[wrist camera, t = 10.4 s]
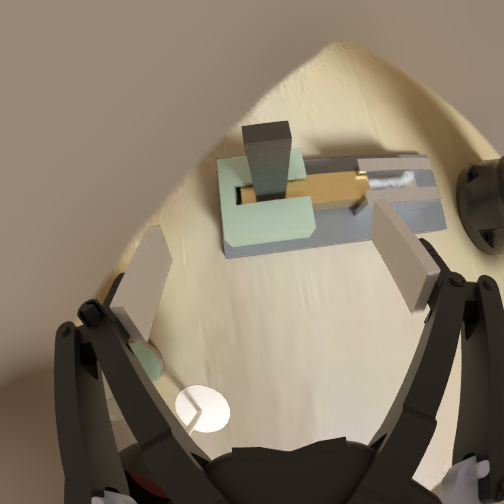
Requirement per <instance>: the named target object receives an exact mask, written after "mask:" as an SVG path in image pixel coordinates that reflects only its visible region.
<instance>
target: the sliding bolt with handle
mask: <svg viewBox="0 0 504 504" xmlns="http://www.w3.org/2000/svg"><path fill="white" fill-rule="evenodd" d="M242 133H243V141H244V146H245V151H246V155H247V160H248V164H249V169H250V173H251V178H252V182H253V185H247V186H240V188H241V196H242V204H249V203H257V202H264V201H272V200H279V199H288V198H296V197H305V196H311V202H312V207H313V211H318V210H327V209H336V208H345V207H355V206H360V205H361V204H362V203H363V202H364V201H365V196H364V191H367V190H370V186H369V182H368V178H367V174H366V173H361V174H359V172H358V171H349V172H335V173H324V174H313V175H306V178H303V179H293V180H288V172H289V162H290V152H291V142H292V137H291V132H290V128H289V123H288V121H280V122H271V123H262V124H255V125H248V126H242Z"/></svg>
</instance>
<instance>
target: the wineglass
mask: <svg viewBox="0 0 504 504" xmlns="http://www.w3.org/2000/svg"><path fill="white" fill-rule="evenodd" d="M175 406H176V412H177V414H178V416H179V418H180V419H181V420H182V421H183V422H184V423H185V424H186V425H187V426H188V427H187V428H186V429H185V431H186V432H187V433H188V435H189V436H190V434H191V433H192V431H193V429H194V430H197V431H200V432H214V431H217V430H219V429H221V428H223V427H224V426H225V425H226V423H227V422H228V420H229V417H230V409H229V406H228V404H227V401H226V400H225V399H224V397H223V396H222V395H221V394H220V393H218V392H217V391H215V390H214V389H212V388H209V387H206V386H201V385H193V386H189V387H186V388H185V389H183V390H182V391H180V393H179V394H178V396H177V398H176V402H175ZM139 450H140V445H139V443H135V444H132V445H130V446H128V447H127V448H125V449H123V450H122V451H120V452H119V457H120V460H121V463H122V467H123V470H124V473H125V476H126V480H127V483H128V488H129V493H130V497H131V498H133V499H134V500H135V501H136V503H137V504H168V503H169V502H170V501H171V500H170V498H169V497H168V496H167V494H166V493H165V492H164V490H163V489H162V488H161V486H160V485H159V483H158V482H157V481H156V479H155V478H154V476H153V475H152V473H151V472H150V470H149V469H148V467H147V466H146V464H145V463H144V461H143V459H142V458H141V456H140V453H139Z"/></svg>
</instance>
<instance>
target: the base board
mask: <svg viewBox="0 0 504 504" xmlns="http://www.w3.org/2000/svg"><path fill="white" fill-rule="evenodd" d="M370 158H428V157H427V155H365V156H345V157H330V158H317V159H306V160H303V161H304V166H305V171H306V175H313V174H324V173H335V172H349V171H350V170H351V168H352V167H353V165H354V163H355V162H356V160H357V159H370ZM217 179H218V191H219V202H220V212H221V223H222V233H223V242H224V252H225V258H226V259H232V258H239V257H247V256H255V255H263V254H270V253H278V252H286V251H293V250H301V249H308V248H316V247H324V246H331V245H339V244H346V243H354V242H361V241H369V240H371V238H370V235H371V227H372V218H373V215H366V216H356V217H355V215H354V210H353V207H345V208H336V209H327V210H318V211H313V213H314V219H315V225H316V229H315V230H314V231H313V233H312V234H311V236H310V237H308V238H300V239H292V240H284V241H277V242H269V243H261V244H254V245H246V246H239V247H232V246H231V245H230V244H228V243H227V242H226V241H225V240H224V231H223V221H222V211H221V200H220V189H219V178H218V171H217ZM415 180H416V183H417V187H433V186H436V182H435V179H434V175H433V172H432V170H431V171H420V172H418V173H417V174H416V175H415ZM397 213H398V215H399V216H400V217H401V218H402V219H403V221H404V222H405V223H406V224H407V226H408V227H409V228H410V229H411V231H412V232H413V233H414V234H420V233H428V232H435V231H442V230H444V229H447V226H446V221H445V217H444V213H443V208H442V204H441V200H440V199H439V200H437V201H436V202H434V203H432V204H431V205H429V206H427V207H425V208H424V209H422V210H415V211H405V212H397Z"/></svg>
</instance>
